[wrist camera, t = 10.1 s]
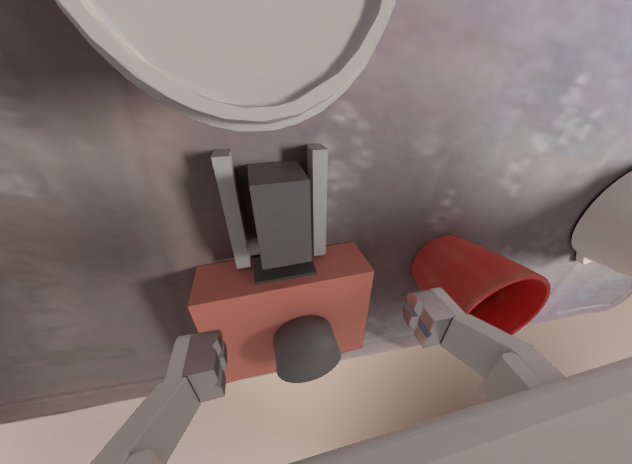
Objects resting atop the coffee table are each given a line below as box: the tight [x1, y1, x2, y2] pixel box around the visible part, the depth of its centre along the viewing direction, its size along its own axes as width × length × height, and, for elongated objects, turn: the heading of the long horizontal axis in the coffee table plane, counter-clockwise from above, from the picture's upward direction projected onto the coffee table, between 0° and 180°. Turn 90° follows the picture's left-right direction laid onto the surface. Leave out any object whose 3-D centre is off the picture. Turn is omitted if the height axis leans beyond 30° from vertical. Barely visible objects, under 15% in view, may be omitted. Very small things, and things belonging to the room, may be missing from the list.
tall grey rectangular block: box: [247, 160, 312, 270], centre depth 20 cm, size 4×7×5 cm, turn 1°
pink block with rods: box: [187, 144, 374, 383], centre depth 22 cm, size 16×22×8 cm
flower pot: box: [411, 235, 550, 335], centre depth 28 cm, size 11×11×10 cm
